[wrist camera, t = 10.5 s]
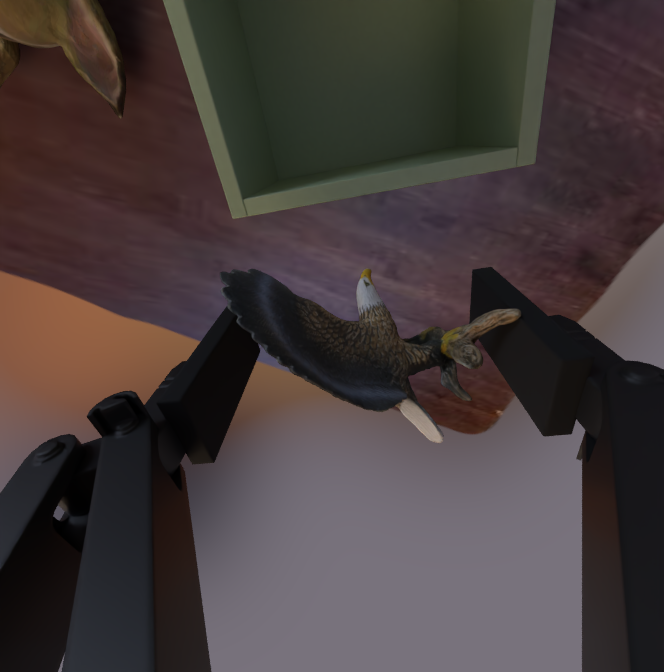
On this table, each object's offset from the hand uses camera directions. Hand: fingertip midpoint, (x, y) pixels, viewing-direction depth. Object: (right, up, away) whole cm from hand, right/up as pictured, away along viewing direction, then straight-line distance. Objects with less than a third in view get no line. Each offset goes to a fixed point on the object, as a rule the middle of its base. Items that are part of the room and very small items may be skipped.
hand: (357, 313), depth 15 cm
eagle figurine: (0, 0, 0) cm, 0 cm away
